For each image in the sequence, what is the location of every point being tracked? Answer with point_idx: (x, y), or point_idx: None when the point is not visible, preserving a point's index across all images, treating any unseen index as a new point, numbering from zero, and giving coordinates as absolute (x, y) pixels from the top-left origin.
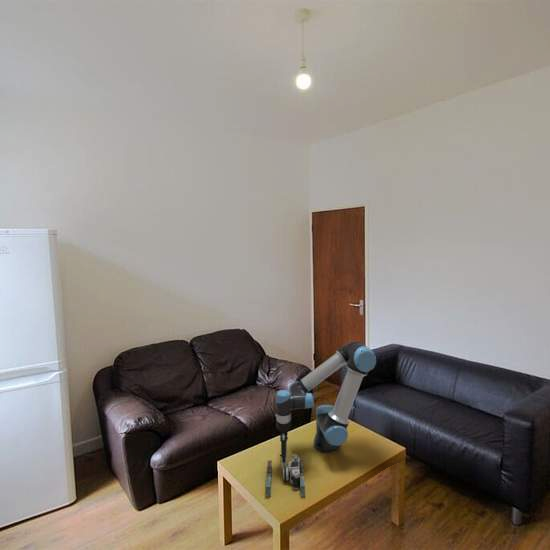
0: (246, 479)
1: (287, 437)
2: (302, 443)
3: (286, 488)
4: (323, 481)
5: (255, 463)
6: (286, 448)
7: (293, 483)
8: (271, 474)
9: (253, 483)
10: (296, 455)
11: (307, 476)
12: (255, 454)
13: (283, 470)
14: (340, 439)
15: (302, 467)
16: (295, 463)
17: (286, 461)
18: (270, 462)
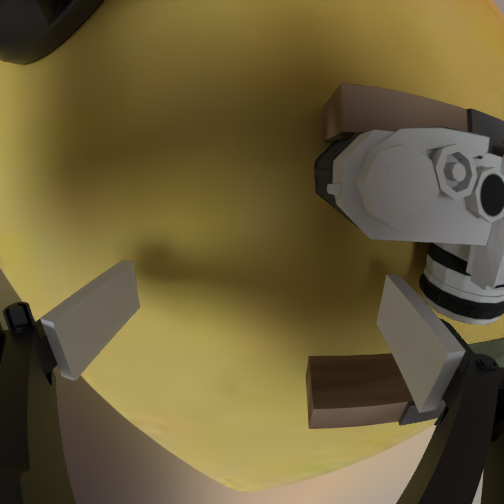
0: (365, 444)
1: (8, 312)
2: (18, 135)
3: None
4: (447, 10)
5: (236, 426)
6: (114, 278)
7: None
8: (396, 366)
9: None
10: (413, 164)
11: (416, 87)
12: (154, 416)
13: (497, 318)
14: None
15: (484, 120)
16: None
17: (426, 305)
18: (341, 414)
